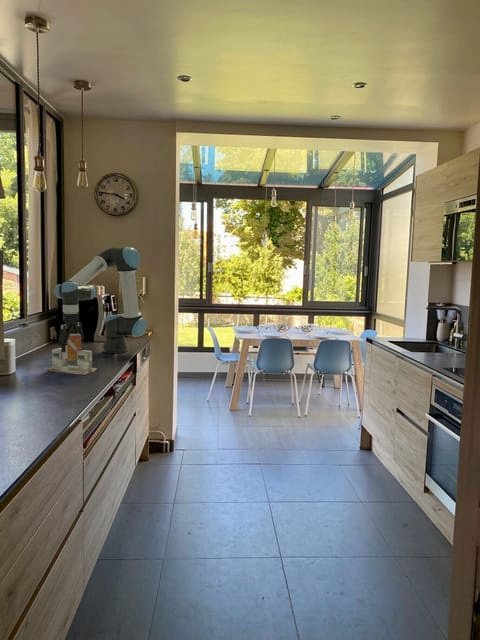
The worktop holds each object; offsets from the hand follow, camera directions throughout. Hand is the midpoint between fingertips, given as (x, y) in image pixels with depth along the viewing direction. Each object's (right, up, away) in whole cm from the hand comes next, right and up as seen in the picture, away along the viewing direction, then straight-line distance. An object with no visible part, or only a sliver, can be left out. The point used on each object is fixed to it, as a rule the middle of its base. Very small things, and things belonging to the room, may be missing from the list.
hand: (71, 356), depth 224 cm
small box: (0, -2, 0) cm, 2 cm away
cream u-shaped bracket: (0, -7, +1) cm, 7 cm away
